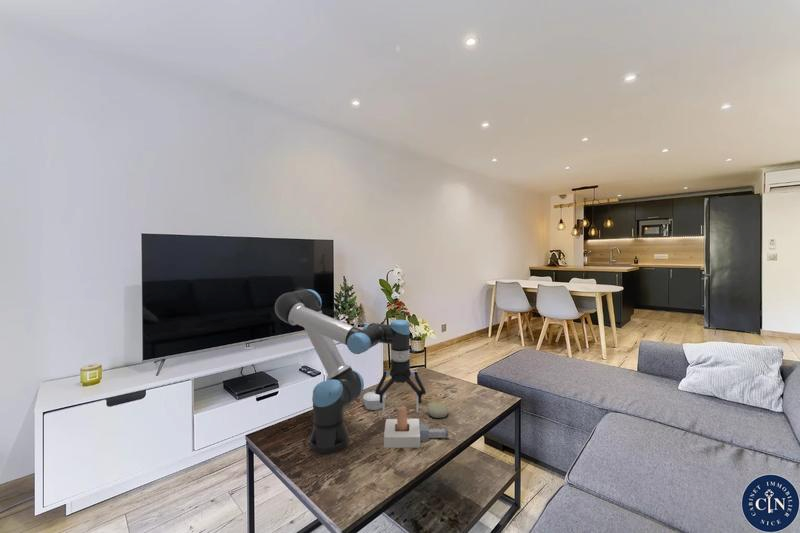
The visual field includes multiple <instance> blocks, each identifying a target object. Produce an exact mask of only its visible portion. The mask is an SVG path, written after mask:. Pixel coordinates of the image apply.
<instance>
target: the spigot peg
mask: <svg viewBox="0 0 800 533" xmlns="http://www.w3.org/2000/svg"><path fill="white" fill-rule="evenodd" d="M396 419H397V429H398V431H407V419H408V408H407V407H406V406H398V407H397V408H396Z"/></svg>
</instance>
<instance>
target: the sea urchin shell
mask: <svg viewBox="0 0 800 533" xmlns="http://www.w3.org/2000/svg"><path fill="white" fill-rule="evenodd" d="M427 413H428V415H429V416H430V417H432V418H434V419H441V418H445V417H447V416H448V413H449V408H448V406H447V405H446V404H445V403H442V402H433V403H431V404H429V406H428V407H427Z"/></svg>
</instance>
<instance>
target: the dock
mask: <svg viewBox="0 0 800 533" xmlns="http://www.w3.org/2000/svg"><path fill="white" fill-rule="evenodd" d="M419 424H420V418H407V431H398V429H397V418H386V419H385V426H384V433H383V449H394V448H395V449H396V448H397V449H400V448H401V449H402V448H403V449H405V448H406V449H407V448H409V449H410V448H413V449H414V448H416V449H417V448H418V449H419V448H421V441H420V427H419Z"/></svg>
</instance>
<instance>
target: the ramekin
mask: <svg viewBox="0 0 800 533" xmlns="http://www.w3.org/2000/svg"><path fill="white" fill-rule="evenodd" d="M375 391H376V390H375ZM375 391H368V392H366V393H365V394H363V396H362V401H363V403H364V407H365V408H366V409H367V410H369V411H379V410H381V409H383V403H380V395H378V394H375ZM386 399H387V395H386V393H385V400H386Z"/></svg>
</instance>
